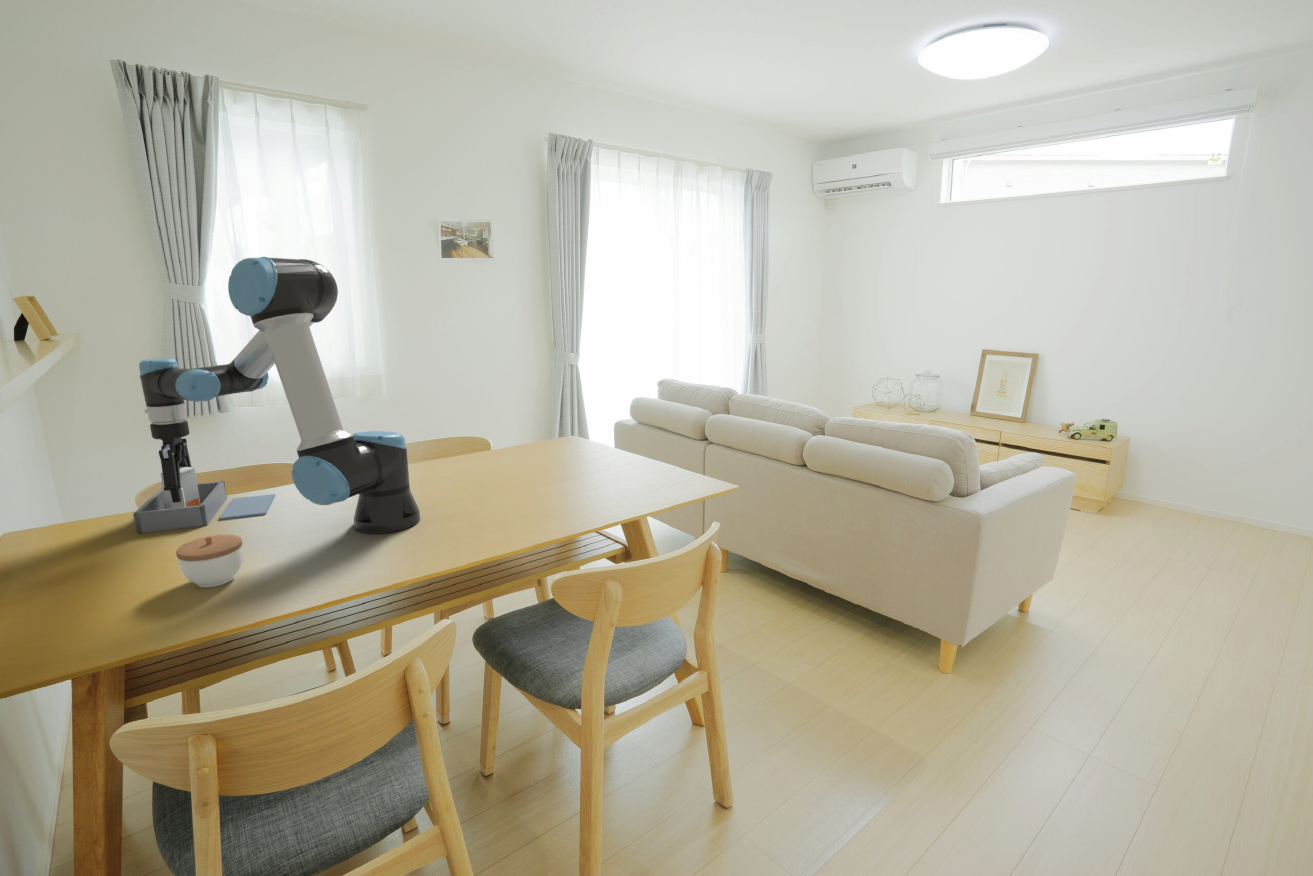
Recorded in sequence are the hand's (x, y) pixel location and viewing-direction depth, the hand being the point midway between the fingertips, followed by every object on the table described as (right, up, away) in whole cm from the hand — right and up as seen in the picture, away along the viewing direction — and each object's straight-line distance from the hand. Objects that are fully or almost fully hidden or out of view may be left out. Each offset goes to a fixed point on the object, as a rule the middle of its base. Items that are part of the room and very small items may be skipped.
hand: (184, 508), depth 162 cm
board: (+13, 0, +6) cm, 14 cm away
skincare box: (0, -2, 0) cm, 2 cm away
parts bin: (0, -2, 0) cm, 2 cm away
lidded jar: (+33, -11, -36) cm, 50 cm away
